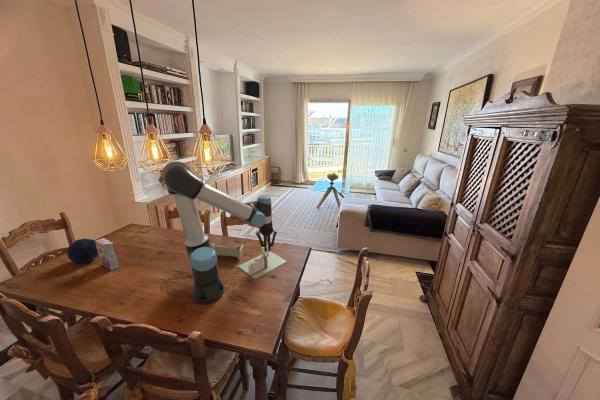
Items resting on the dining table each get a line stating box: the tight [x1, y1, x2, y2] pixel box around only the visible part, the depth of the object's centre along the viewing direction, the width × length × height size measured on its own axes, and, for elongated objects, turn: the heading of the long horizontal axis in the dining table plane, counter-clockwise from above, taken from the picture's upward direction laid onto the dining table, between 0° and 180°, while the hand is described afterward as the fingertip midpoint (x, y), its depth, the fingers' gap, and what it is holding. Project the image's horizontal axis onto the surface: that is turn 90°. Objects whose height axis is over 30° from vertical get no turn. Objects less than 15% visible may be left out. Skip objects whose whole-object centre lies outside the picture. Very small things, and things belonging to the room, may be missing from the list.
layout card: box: [237, 251, 288, 280], centre depth 143 cm, size 24×17×1 cm
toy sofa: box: [210, 242, 245, 261], centre depth 150 cm, size 21×9×10 cm, turn 87°
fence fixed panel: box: [249, 256, 267, 276], centre depth 135 cm, size 12×2×7 cm, turn 136°
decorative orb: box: [66, 238, 99, 264], centre depth 142 cm, size 14×15×15 cm
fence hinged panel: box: [261, 247, 266, 259], centre depth 145 cm, size 11×1×7 cm, turn 15°
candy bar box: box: [94, 237, 121, 272], centre depth 136 cm, size 11×5×16 cm, turn 59°
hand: (268, 255), depth 147 cm, fingers closed
